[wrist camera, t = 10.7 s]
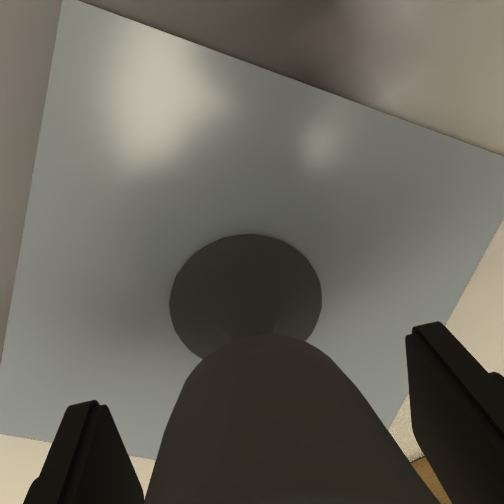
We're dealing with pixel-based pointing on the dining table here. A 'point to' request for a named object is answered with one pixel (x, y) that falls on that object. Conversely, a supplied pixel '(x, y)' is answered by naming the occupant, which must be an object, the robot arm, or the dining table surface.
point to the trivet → (220, 221)
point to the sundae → (268, 393)
